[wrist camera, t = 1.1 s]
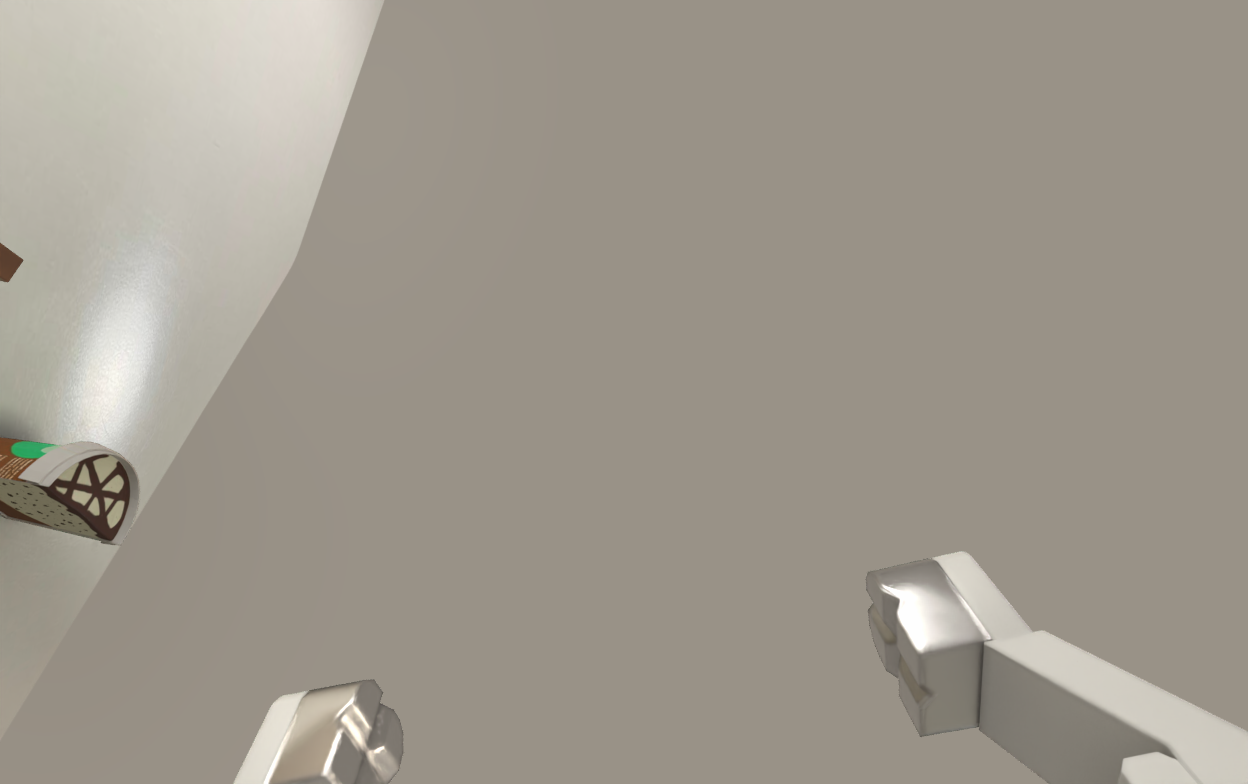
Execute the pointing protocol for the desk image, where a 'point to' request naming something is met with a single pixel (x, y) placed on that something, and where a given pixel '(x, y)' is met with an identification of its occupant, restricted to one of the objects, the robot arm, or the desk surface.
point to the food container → (69, 488)
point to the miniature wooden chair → (8, 263)
